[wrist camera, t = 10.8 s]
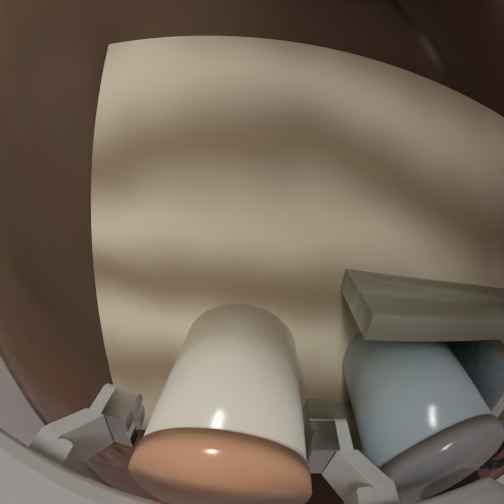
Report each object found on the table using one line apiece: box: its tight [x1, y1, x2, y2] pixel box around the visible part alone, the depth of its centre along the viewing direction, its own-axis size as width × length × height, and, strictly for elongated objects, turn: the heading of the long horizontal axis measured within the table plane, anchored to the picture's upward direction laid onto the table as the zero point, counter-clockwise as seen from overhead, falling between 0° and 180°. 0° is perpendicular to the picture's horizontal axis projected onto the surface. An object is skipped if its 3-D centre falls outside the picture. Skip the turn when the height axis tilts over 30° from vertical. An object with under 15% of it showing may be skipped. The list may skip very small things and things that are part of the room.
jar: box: [129, 304, 312, 504], centre depth 10 cm, size 6×6×8 cm
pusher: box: [445, 339, 504, 418], centre depth 11 cm, size 6×1×6 cm, turn 173°
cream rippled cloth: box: [91, 36, 504, 455], centre depth 12 cm, size 24×38×5 cm, turn 83°
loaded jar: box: [343, 332, 504, 504], centre depth 10 cm, size 6×6×8 cm
